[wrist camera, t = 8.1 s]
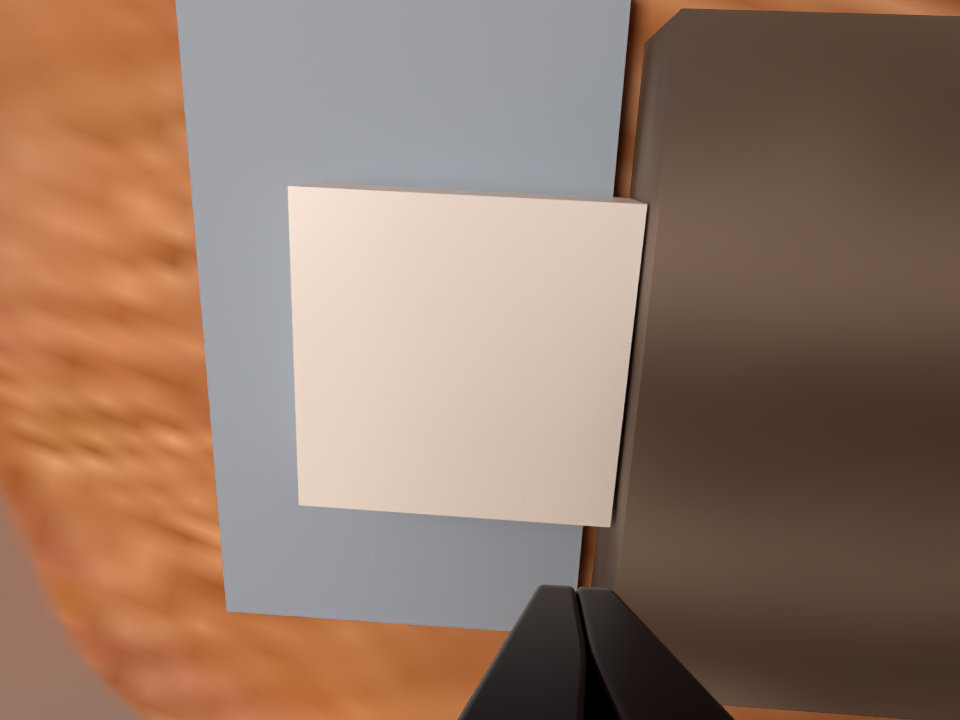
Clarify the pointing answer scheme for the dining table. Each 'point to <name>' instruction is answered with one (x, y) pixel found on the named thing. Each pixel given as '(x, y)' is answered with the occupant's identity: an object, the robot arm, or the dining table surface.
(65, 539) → the dining table surface
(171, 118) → the dining table surface
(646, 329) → the brown flat slab
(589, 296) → the block
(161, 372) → the dining table surface
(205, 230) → the mat
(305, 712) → the dining table surface
